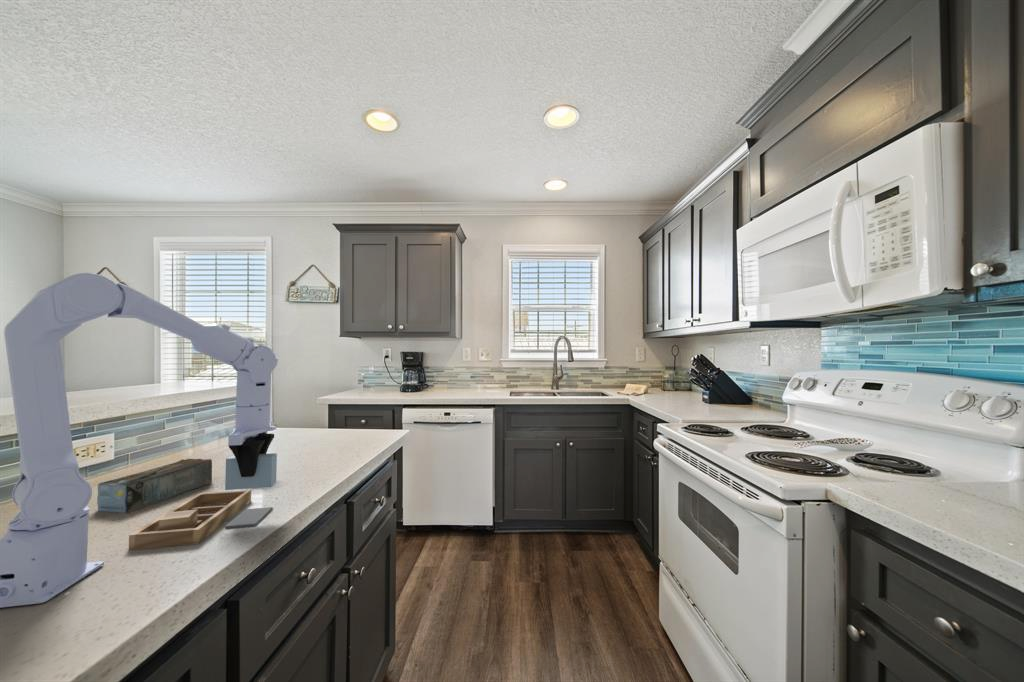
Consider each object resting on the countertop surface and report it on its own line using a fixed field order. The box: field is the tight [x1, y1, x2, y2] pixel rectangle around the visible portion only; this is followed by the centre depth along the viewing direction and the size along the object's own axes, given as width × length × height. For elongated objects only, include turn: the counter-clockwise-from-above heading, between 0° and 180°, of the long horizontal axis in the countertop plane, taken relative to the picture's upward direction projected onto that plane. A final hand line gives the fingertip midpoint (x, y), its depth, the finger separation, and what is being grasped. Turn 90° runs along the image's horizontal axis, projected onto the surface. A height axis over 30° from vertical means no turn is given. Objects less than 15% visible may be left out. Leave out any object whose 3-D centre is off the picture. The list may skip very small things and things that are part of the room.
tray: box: [128, 489, 252, 551], centre depth 73 cm, size 20×10×2 cm, turn 12°
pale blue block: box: [224, 452, 278, 491], centre depth 75 cm, size 2×8×6 cm, turn 102°
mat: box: [224, 506, 274, 529], centre depth 75 cm, size 8×5×1 cm, turn 12°
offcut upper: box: [159, 509, 199, 531], centre depth 67 cm, size 3×4×2 cm
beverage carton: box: [96, 458, 213, 514], centre depth 87 cm, size 8×19×7 cm, turn 170°
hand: (251, 473), depth 75 cm, fingers closed on pale blue block, 2 cm apart
